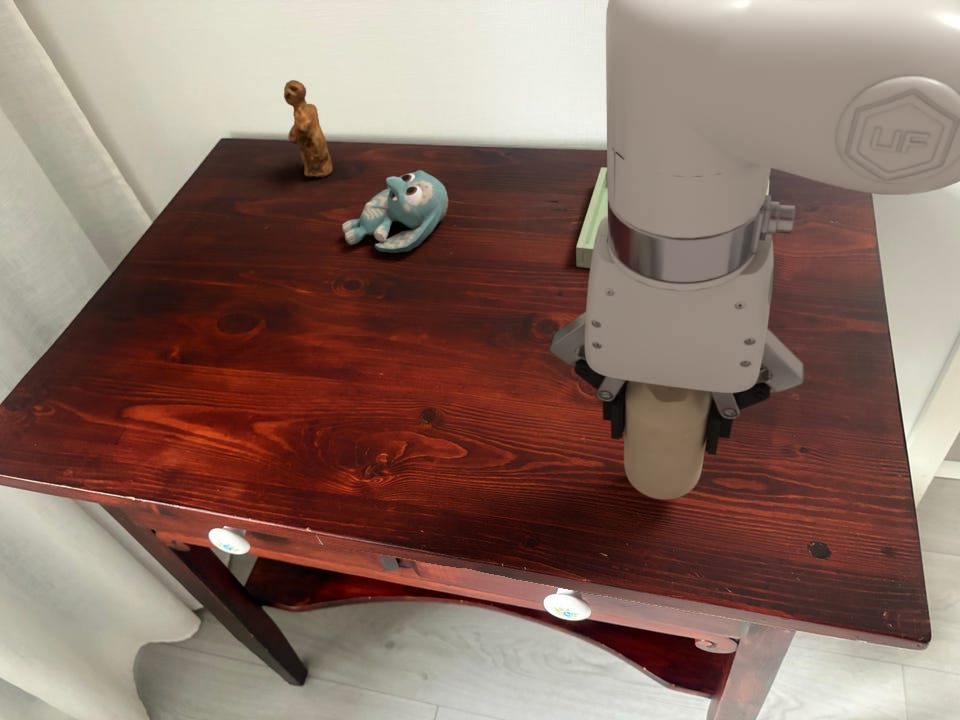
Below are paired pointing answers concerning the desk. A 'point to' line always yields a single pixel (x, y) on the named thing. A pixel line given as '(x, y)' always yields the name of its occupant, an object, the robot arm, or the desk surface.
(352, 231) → the stuffed animal
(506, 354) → the desk surface
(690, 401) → the candle
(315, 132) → the figurine
